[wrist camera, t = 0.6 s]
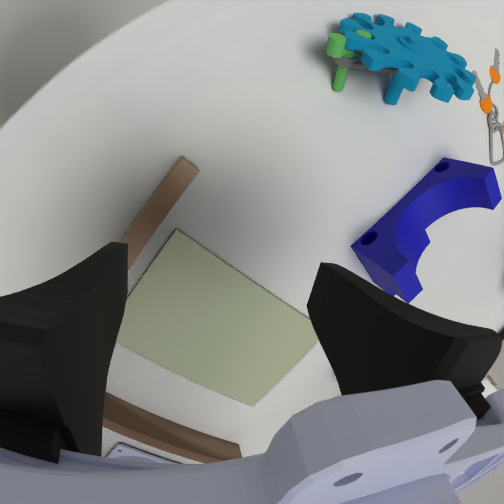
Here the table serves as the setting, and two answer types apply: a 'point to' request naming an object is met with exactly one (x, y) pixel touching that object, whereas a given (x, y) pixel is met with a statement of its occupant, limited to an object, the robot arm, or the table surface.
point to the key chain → (491, 104)
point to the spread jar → (497, 370)
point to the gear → (398, 57)
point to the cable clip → (421, 223)
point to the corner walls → (129, 416)
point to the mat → (213, 323)
